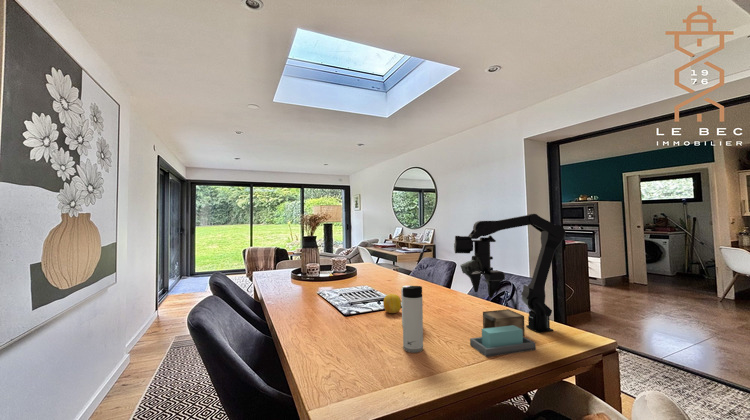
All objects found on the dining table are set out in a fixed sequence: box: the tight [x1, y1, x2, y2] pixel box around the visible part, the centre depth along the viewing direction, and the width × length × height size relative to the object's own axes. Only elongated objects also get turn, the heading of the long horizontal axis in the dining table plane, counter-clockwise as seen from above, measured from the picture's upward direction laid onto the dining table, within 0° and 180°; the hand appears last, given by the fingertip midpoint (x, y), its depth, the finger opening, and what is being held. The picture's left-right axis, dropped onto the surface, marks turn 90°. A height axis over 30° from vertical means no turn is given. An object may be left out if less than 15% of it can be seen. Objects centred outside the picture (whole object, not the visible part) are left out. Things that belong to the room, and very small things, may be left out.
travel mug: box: [402, 285, 424, 354], centre depth 95 cm, size 6×7×20 cm
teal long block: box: [481, 325, 524, 348], centre depth 96 cm, size 12×4×5 cm, turn 104°
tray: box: [469, 336, 537, 358], centre depth 95 cm, size 18×9×2 cm, turn 105°
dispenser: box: [482, 309, 526, 337], centre depth 107 cm, size 12×8×7 cm
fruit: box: [382, 293, 402, 314], centre depth 132 cm, size 9×8×8 cm
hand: (483, 294), depth 114 cm, fingers open, 9 cm apart
